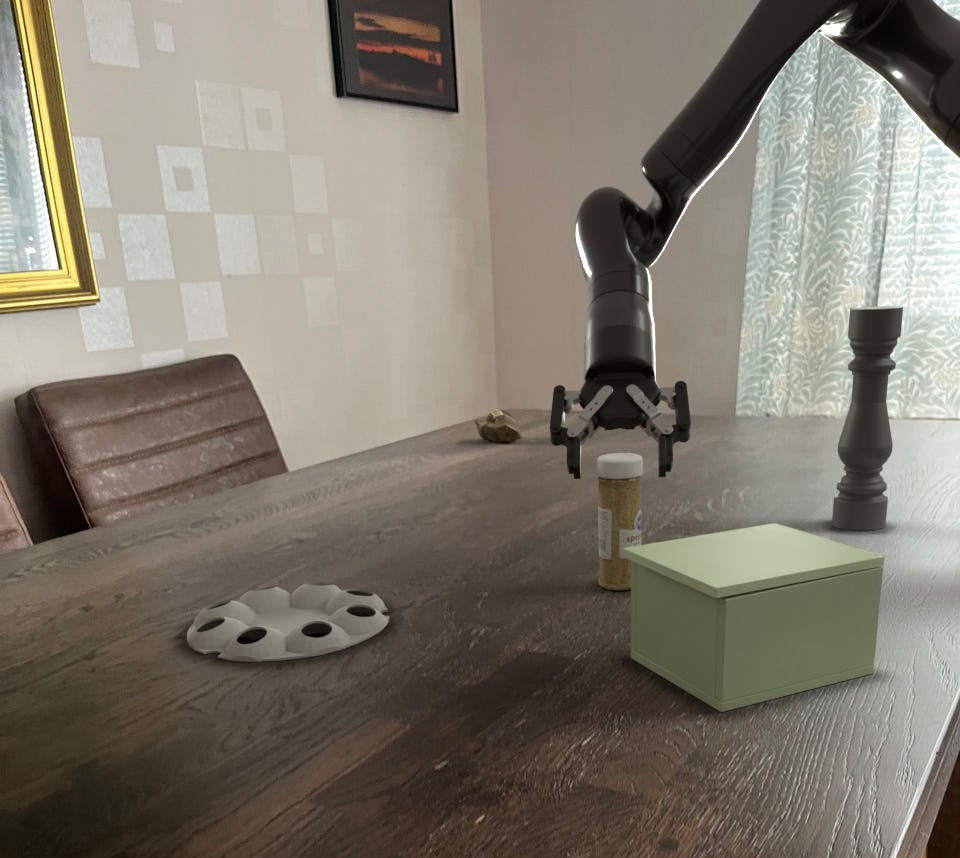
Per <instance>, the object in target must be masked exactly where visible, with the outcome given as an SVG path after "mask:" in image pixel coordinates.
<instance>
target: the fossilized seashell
mask: <svg viewBox="0 0 960 858" xmlns="http://www.w3.org/2000/svg"><path fill="white" fill-rule="evenodd" d="M474 423H475V424H476V428H477V431H478V434H479V435H478V436H479V437H480V438H481V439H483V440H486V441H490V442H491V441H493V442H496V443H511V442H515V441H517V440H521V439H522V438H523V437H522V433H521V430H520V427H519V423H518V420H517V419H516V418H515V417H514V416H512V414H511V413H509V412H508V411H506V410H505V409H501V408H496V409H494V410H492V411H491V412H490V413H489V414H488V415H487V416H485V418H484V419H483V420H480V419H479V420H478V419H475V420H474Z"/></svg>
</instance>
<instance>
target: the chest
mask: <svg viewBox="0 0 960 858" xmlns="http://www.w3.org/2000/svg"><path fill="white" fill-rule="evenodd" d="M883 573H884V566H881V567H876V568H871V569H866V570H861V571H856V572H850V573H845V574H840V575H835V576H830V577H825V578H819V579H814V580H809V581H804V582H799V583H793V584H788V585H783V586H778V587H773V588H768V589H762V590H757V591H752V592H747V593H742V594H737V595H731V596H726V597H721V598H714V597H712V596H709V595H707V594H705V593H703V592H700V591H698V590H696V589H694V588H691V587H689V586H687V585H684V584H682V583H680V582H678V581H675V580H673V579H671V578H669V577H666V576H664V575H662V574H660V573H657V572H655V571H653V570H651V569H648V568H646V567H644V566H641V565H639V564H637V563H635V562H632V561H631V589H630V592H631V593H630V659H631V660H633V661H636V663H638V664H639V665H642V666H643V667H645V668H647V669H648V670H650V671H651V672H653V673H655V674H657V675H658V676H660V677H662V679H663V678H664V680H667V681H669V682H670V683H671V684H673V685H674V686H677V687H678V688H680V689H682V690H683V691H685V692H687V693H688V694H690V695H692V696H693V697H695V698H697V699H698V700H700V701H702V702H703V703H705V704H707V705H708V706H710V707H711V708H713V709H715V710H716V711H718V712H720V713H723V712H728V711H732V710H736V709H740V708H744V707H747V706H751V705H755V704H759V703H763V702H767V701H771V700H774V699H779V698H782V697H787V696H790V695H794V694H798V693H802V692H806V691H810V690H813V689H818V688H822V687H826V686H829V685H830V686H831V685H834V684H837V683H841V682H845V681H849V680H853V679H857V678H860V677H864V676H869V675H873V674H874V672H875V671H874V670H875V659H876V650H877V649H876V648H877V639H878V638H877V637H878V627H879V616H880V605H881V595H882V585H883V576H884V575H883Z"/></svg>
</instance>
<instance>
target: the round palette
mask: <svg viewBox="0 0 960 858" xmlns="http://www.w3.org/2000/svg"><path fill="white" fill-rule="evenodd" d="M357 612H358V613H363V614H366V615H367V616H357V615H354V614H351V613H357ZM385 612H386V613H387V612H389V609H388V608H387V606H386V605H385V603H384V601H383V600H382V599H381V597H379V596H378V595H377V594H375V593H374V592H373V591H370V590H366V589H361V588H346V589H343V590H342V589H340V588H339V587H338V586H337V585H335V584H333V583H330V582H329V583H328V582H305V583H304V584H301V585H300V586H298V587H297V588H296V589H295V590H294V591H292V592H291V594H290V593H289V592H288V591H287V590H284V589H283V588H280V587H278V586H269V587H262V588H256V589H255V588H254V589H250V590H248V591H246V592H245V593H244V594H243V595H241V596H240V598H239V599H238V600H231V599H227V600H221V601H219V602H215V603H212V604H209V605H208V606H206V607H203V609H202V610H200V611H199V613H198V614H197V616H196V617H195V619H194V621H193V623H192V624H191V625H190V627H189V628H188V630H187V632H186V643H187V645H188V646H189V647H190V648H191V649H192V650H194V651H195V652H198V653H200V654H202V655H206V654H213V653H214V654H215V653H217V654H219V655H217V659H221V660H226V661H232V662H233V661H234V662H246V663H247V662H248V663H249V662H250V663H262V662H278V661H279V662H280V661H288V660H290V661H291V660H297V659H304V658H310V657H311V658H313V657H317V656H318V657H319V656H322V655H327V654H330V653H334V652H338V651H341V650H345V649H347V648H350V647H352V646H356V645H358V644H360V643H363V642H364V641H367V640H368V639H370V638H372V637H374V636H376V635H377V634H379V633H380V632H382V631H383V630H384V629H385V628H386V627H387V625H389V620H390V615H384V614H383V613H385ZM329 630H331V631H330V632H329V633H328V634H327V635H324V636H322V637H321V636H320V637H312V636H309V635H313V634H325V633H327V632H328V631H329ZM242 638H248V639H249V640H252V641H254V640H258V641H255V642H252V643H240V642H238V641H237V640H238V639H242Z"/></svg>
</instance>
